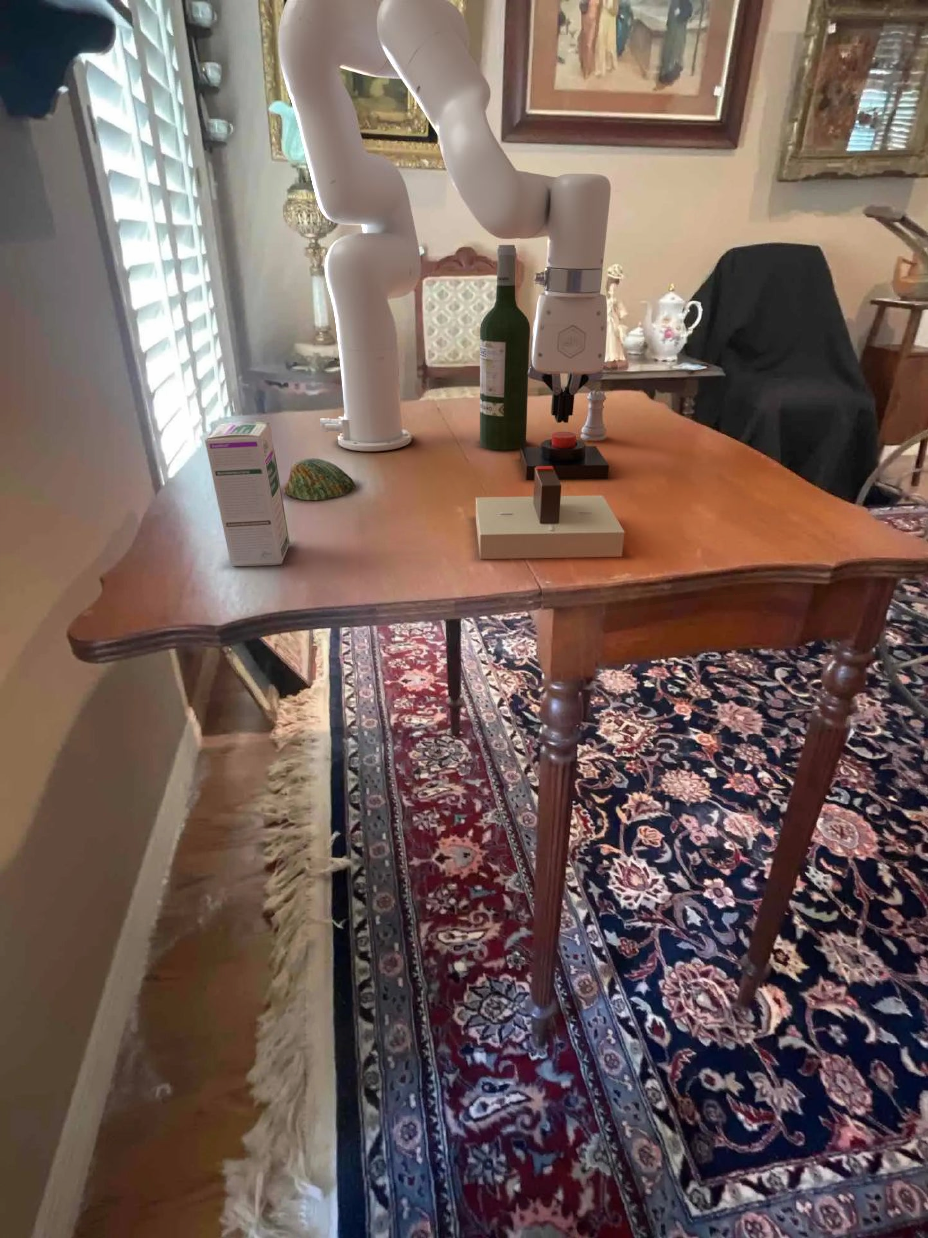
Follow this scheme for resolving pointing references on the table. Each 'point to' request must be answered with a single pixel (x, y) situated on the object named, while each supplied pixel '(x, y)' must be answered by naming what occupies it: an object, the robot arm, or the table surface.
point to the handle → (547, 494)
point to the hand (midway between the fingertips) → (561, 420)
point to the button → (563, 439)
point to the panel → (547, 529)
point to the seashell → (317, 480)
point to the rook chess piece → (594, 418)
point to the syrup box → (248, 493)
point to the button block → (565, 461)
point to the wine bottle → (504, 364)
